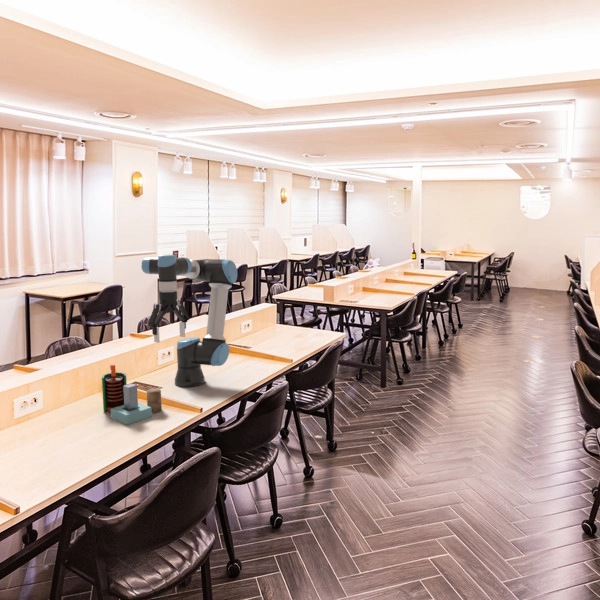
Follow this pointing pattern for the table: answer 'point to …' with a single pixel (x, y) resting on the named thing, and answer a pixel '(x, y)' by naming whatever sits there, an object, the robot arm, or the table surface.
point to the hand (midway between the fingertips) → (170, 339)
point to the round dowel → (154, 400)
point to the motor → (113, 389)
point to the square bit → (130, 397)
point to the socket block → (131, 414)
